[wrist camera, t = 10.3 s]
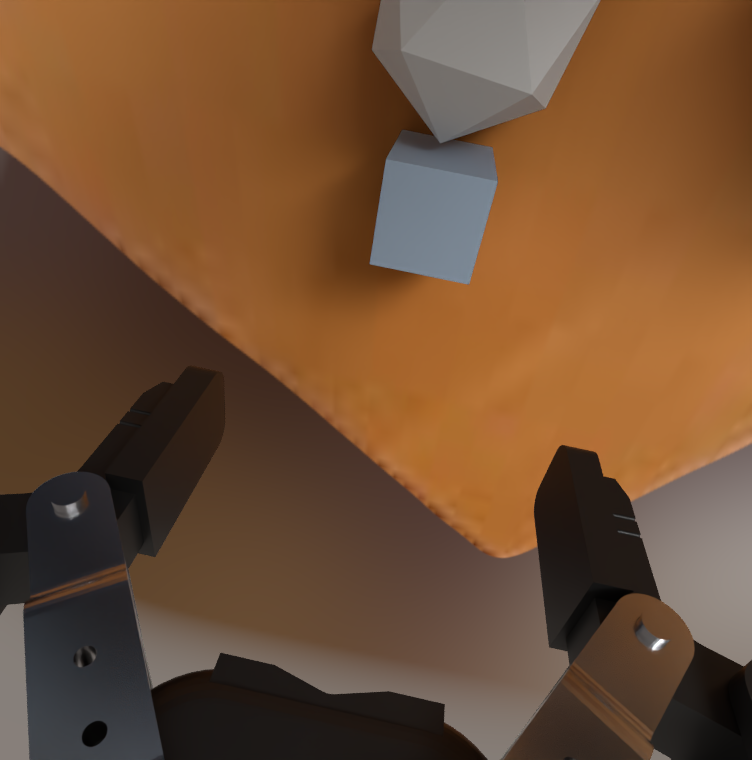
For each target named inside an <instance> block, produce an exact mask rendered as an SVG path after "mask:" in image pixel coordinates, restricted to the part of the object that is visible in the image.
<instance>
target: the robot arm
mask: <svg viewBox="0 0 752 760" xmlns="http://www.w3.org/2000/svg"><path fill="white" fill-rule="evenodd" d="M224 427H225V400H224V377H223V374H222V372H219V371H214V370H210V369H205V368H200V367H195V366H188V367H187V368H186V369H185V370H184V372H183V373H182V374H181V375H180V377H179V378H178V379H177V381H176V382H175V383H174V384H171V383H166V382H162V383H160V384H158V385H156V386H155V387H153V388H151V389H150V390H148V391H146V392H144V393H143V394H142V395H141V396H140V398H139V399H138V400H137V401H136V402H135V404H134V405H133V406H132V407H131V409H130V412H129V411H128V412H127V413H126V414H125V416H124V417H123V418H122V419H121V420H120V424H117V425H116V426H115V427H114V429H113V430H112V431H111V432H110V433H109V435H108V436H107V437H106V438H105V439H104V441H103V442H102V443H101V444H100V445H99V447H98V448H97V449H96V450H95V451H94V453H93V454H92V455H91V456H90V457H89V459H88V460H87V461H86V462H85V463H84V465H83V466H82V467H81V468H80V469H79V470H78V471H77V472H71V473H66V474H62V475H59V476H57V477H54V478H52V479H50V480H48V481H46V482H45V483H43V484H42V485H40V486H39V487H38V488H37V489H36V490H35V491H34V492H33V493H25V494H5V495H0V614H1V613H2V611H3V610H4V609H5V607H6V606H7V605H8V604H19V603H24V610H23V619H24V620H23V621H24V644H25V667H26V690H27V712H28V735H29V759H30V760H487V758H486V757H485V756H484V755H483V754H482V753H481V751H479V749H478V748H477V747H476V746H475V745H474V744H473V743H472V742H471V741H469V740H468V739H467V738H466V737H465V736H464V735H462V734H461V733H460V732H458V731H457V730H456V729H454V728H453V727H451V726H449V725H448V724H446V723H444V707H445V704H441V703H437V702H432V701H428V700H424V699H419V698H415V697H411V696H406V695H402V694H398V693H393V692H389V691H388V692H370V693H352V694H327V693H325V692H322V691H321V690H319V689H317V688H315V687H313V686H311V685H310V684H308V683H306V682H304V681H303V680H301V679H299V678H297V677H295V676H293V675H291V674H290V673H288V672H286V671H284V670H283V669H281V668H279V667H277V666H275V665H272V664H267V663H263V662H259V661H254V660H250V659H246V658H241V657H237V656H232V655H228V654H223V653H220V656H219V658H218V661H217V663H216V666H215V668H214V669H212V670H202V671H196V672H191V673H188V674H185V675H182V676H178V677H175V678H173V679H171V680H169V681H167V682H164V683H162V684H160V685H158V686H157V687H155V688H153V686H152V681H151V676H150V672H149V667H148V662H147V658H146V653H145V648H144V644H143V639H142V634H141V629H140V624H139V619H138V614H137V609H136V604H135V600H134V595H133V590H132V585H131V580H130V575H129V570H128V568H129V567H130V565H131V563H132V562H133V560H134V558H135V557H136V555H137V553H140V554H144V555H149V556H153V557H155V556H156V555H157V553H158V551H159V549H160V548H161V546H162V544H163V542H164V541H165V539H166V537H167V535H168V534H169V532H170V530H171V528H172V527H173V525H174V523H175V521H176V520H177V518H178V516H179V514H180V513H181V511H182V509H183V507H184V505H185V504H186V502H187V500H188V499H189V497H190V495H191V493H192V492H193V490H194V488H195V486H196V485H197V483H198V481H199V479H200V478H201V476H202V474H203V472H204V471H205V469H206V467H207V465H208V464H209V462H210V460H211V458H212V457H213V455H214V453H215V451H216V450H217V448H218V446H219V444H220V442H221V439H222V436H223V432H224ZM534 518H535V527H536V536H537V544H538V553H539V562H540V571H541V580H542V588H543V597H544V606H545V615H546V623H547V632H548V641H549V647H551V648H555V649H560V650H564V651H568V656H569V664H570V665H569V667H568V668H567V670H566V671H565V672H564V674H563V675H562V676H561V678H560V679H559V680H558V682H557V683H556V684H555V686H554V687H553V689H552V690H551V691H550V693H549V694H548V695H547V697H546V698H545V700H544V701H543V702H542V703H541V705H540V706H539V708H538V709H537V710H536V712H535V713H534V715H533V716H532V717H531V719H530V720H529V721H528V723H527V724H526V725H525V727H524V728H523V729H522V731H521V732H520V734H519V735H518V736H517V738H516V739H515V740H514V742H513V743H512V744H511V746H510V747H509V748H508V750H507V751H506V752H505V754H504V755H503V756H502V758H501V759H500V760H650V758H651V756H652V753H653V750H654V749H656V750H658V751H659V752H661V753H663V754H665V755H666V756H668V757H670V758H671V760H752V660H751V661H750V662H749V663H748V664H746V666H744V667H743V666H741V665H740V664H738V663H736V662H734V661H732V660H730V659H728V658H726V657H724V656H722V655H720V654H718V653H716V652H714V651H712V650H710V649H708V648H706V647H704V646H703V645H701V644H699V643H697V642H696V641H695V640H693V638H692V635H691V633H690V631H689V629H688V627H687V625H686V624H685V623H684V621H683V620H682V619H681V617H680V616H679V615H678V614H677V613H676V612H675V611H674V610H673V609H671V608H670V607H669V606H668V605H666V604H664V603H663V602H662V601H661V599H660V596H659V593H658V590H657V586H656V583H655V580H654V577H653V573H652V570H651V567H650V564H649V560H648V557H647V554H646V551H645V548H644V544H643V541H642V539H641V538H640V531H639V528H638V525H637V522H635V515H634V512H633V508H632V505H631V502H630V499H629V497H628V496H627V494H626V493H625V492H624V490H623V489H622V488H621V486H620V485H619V484H618V482H617V481H616V480H615V479H613V478H608V477H603V473H602V469H601V466H600V462H599V458H598V455H597V454H596V453H595V452H593V451H588V450H584V449H579V448H574V447H569V446H565V445H561V446H560V447H559V448H558V450H557V452H556V454H555V456H554V458H553V460H552V462H551V464H550V466H549V468H548V470H547V472H546V474H545V476H544V478H543V480H542V482H541V484H540V487H539V489H538V491H537V495H536V499H535V505H534Z"/></svg>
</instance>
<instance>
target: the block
mask: <svg viewBox="0 0 752 760" xmlns="http://www.w3.org/2000/svg"><path fill="white" fill-rule="evenodd" d="M497 183H498V179H497V172H496V166H495V160H494V154H493V148H492V147H488V146H483V145H478V144H473V143H468V142H463V141H458V140H453V139H452V140H449V141H446V142H443V143H440V142H439V141H438V140H437V138H436V137H435V136H432V135H427V134H422V133H417V132H412V131H407V130H402V131H401V133H400V135H399V136H398V138H397V140H396V142H395V144H394V145H393V147H392V149H391V151H390V153H389V155H388V156H387V158H386V162H385V169H384V175H383V182H382V188H381V194H380V201H379V207H378V213H377V220H376V226H375V233H374V239H373V245H372V252H371V258H370V264H371V265H376V266H381V267H386V268H391V269H396V270H400V271H405V272H410V273H415V274H420V275H425V276H430V277H435V278H439V279H444V280H449V281H454V282H459V283H464V284H469V283H470V279H471V276H472V272H473V268H474V265H475V261H476V258H477V254H478V251H479V247H480V244H481V240H482V236H483V233H484V229H485V226H486V222H487V219H488V215H489V211H490V208H491V204H492V201H493V197H494V194H495V190H496V187H497Z"/></svg>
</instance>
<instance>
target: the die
mask: <svg viewBox="0 0 752 760" xmlns="http://www.w3.org/2000/svg"><path fill="white" fill-rule="evenodd" d="M599 2H600V0H381V3H380V8H379V13H378V19H377V24H376V29H375V35H374V40H373V46H372V51H373V52H374V54H375V55H376V56H377V58H378V59H379V61H380V62H381V63H382V65H383V66H384V67H385V69H386V70H387V71H388V73H389V74H390V76H391V77H392V78H393V80H394V81H395V82H396V84H397V85H398V87H399V88H400V89H401V91H402V92H403V93H404V95H405V96H406V97H407V99H408V100H409V102H410V103H411V104H412V106H413V107H414V108H415V110H416V111H417V112H418V114H419V115H420V117H421V118H422V119H423V121H424V122H425V123H426V125H427V126H428V127H429V129H430V130H431V132H432V133H433V134H434V136H435V137H436V138H437V140H438V141H439V142H440V143H443V142H446V141H449V140H452V139H455V138H458V137H461V136H464V135H467V134H470V133H473V132H476V131H479V130H482V129H485V128H488V127H491V126H494V125H497V124H500V123H503V122H506V121H509V120H512V119H515V118H518V117H521V116H524V115H527V114H530V113H533V112H536V111H539V110H542V109H545V108H546V107H547V105H548V103H549V101H550V99H551V97H552V95H553V93H554V91H555V89H556V87H557V85H558V83H559V81H560V79H561V77H562V75H563V73H564V71H565V69H566V67H567V65H568V63H569V61H570V59H571V57H572V55H573V53H574V52H575V50H576V48H577V46H578V44H579V42H580V40H581V38H582V36H583V34H584V32H585V30H586V28H587V26H588V24H589V22H590V20H591V18H592V16H593V14H594V12H595V10H596V8H597V6H598V4H599Z"/></svg>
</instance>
